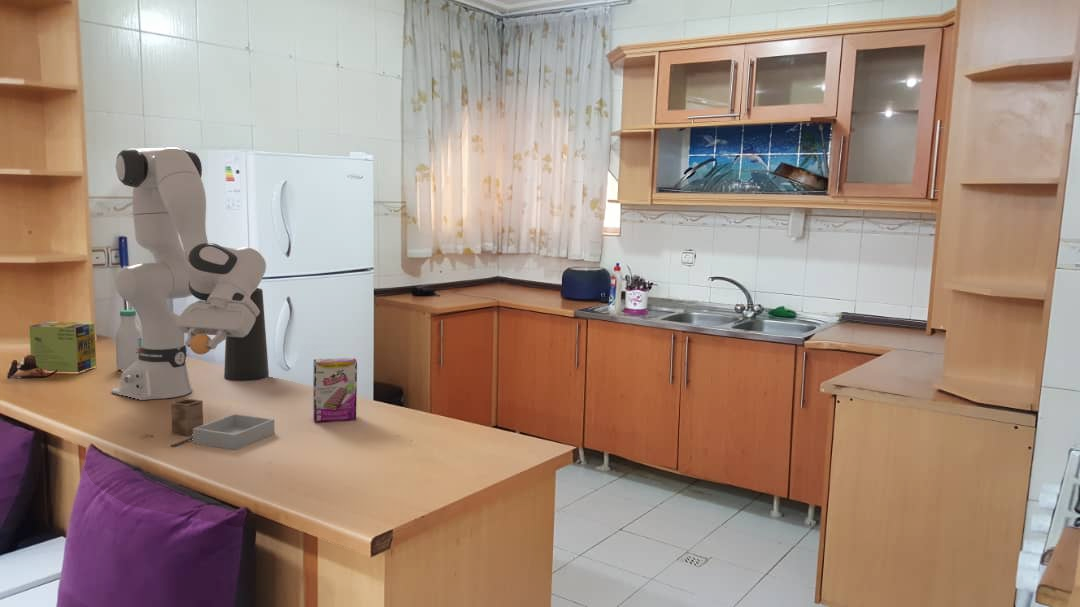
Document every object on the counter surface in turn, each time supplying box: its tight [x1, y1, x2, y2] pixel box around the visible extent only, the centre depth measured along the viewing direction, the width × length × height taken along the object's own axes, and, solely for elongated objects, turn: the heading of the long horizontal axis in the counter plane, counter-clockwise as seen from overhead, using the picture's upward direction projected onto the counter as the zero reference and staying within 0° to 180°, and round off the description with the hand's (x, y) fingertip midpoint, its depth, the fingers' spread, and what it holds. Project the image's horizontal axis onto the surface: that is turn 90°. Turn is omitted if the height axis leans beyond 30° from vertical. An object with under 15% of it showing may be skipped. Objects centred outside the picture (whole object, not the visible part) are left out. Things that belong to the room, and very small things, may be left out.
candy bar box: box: [312, 357, 358, 423], centre depth 203 cm, size 11×5×16 cm, turn 110°
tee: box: [170, 398, 204, 437], centre depth 188 cm, size 5×5×8 cm
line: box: [170, 436, 193, 447], centre depth 188 cm, size 1×22×1 cm, turn 161°
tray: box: [192, 413, 275, 451], centre depth 185 cm, size 12×14×4 cm
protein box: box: [29, 321, 97, 372], centre depth 248 cm, size 10×15×16 cm
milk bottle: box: [115, 309, 143, 371], centre depth 252 cm, size 8×8×20 cm
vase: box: [223, 287, 270, 382], centre depth 247 cm, size 14×14×29 cm
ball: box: [189, 334, 212, 355], centre depth 184 cm, size 5×5×5 cm
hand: (199, 346), depth 184 cm, fingers closed on ball, 5 cm apart
